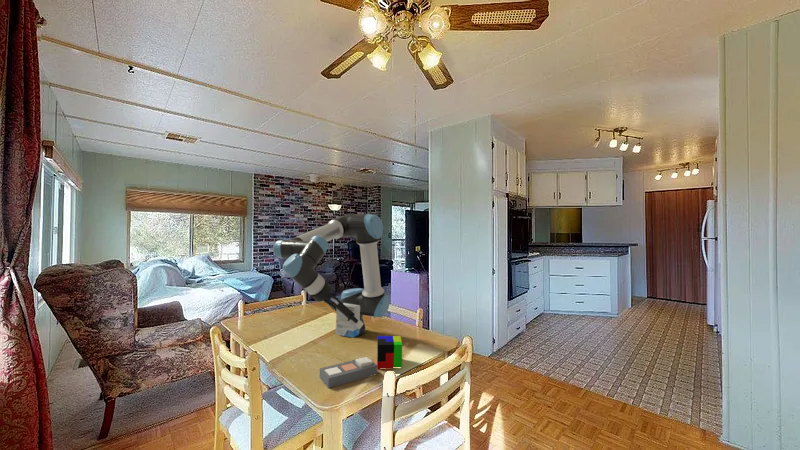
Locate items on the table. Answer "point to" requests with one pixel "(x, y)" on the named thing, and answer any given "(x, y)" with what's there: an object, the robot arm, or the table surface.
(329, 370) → the key
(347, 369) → the middle key
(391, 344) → the puzzle toy
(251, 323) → the table surface
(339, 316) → the ink box
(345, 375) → the keypad
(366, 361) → the key
